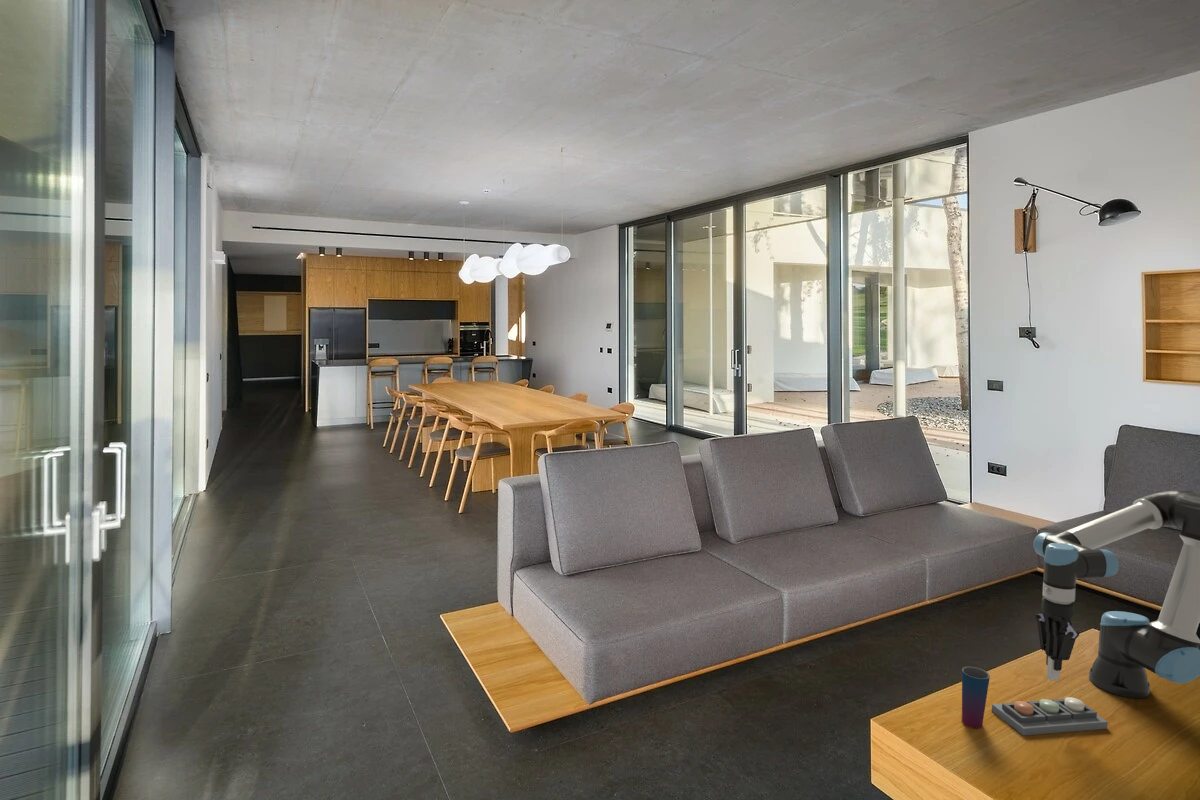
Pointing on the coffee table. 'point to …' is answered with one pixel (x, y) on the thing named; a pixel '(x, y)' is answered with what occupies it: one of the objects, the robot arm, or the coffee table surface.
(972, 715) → the cup
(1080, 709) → the button cream
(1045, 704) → the button sage
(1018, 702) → the button rust
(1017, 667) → the coffee table surface
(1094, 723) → the panel
